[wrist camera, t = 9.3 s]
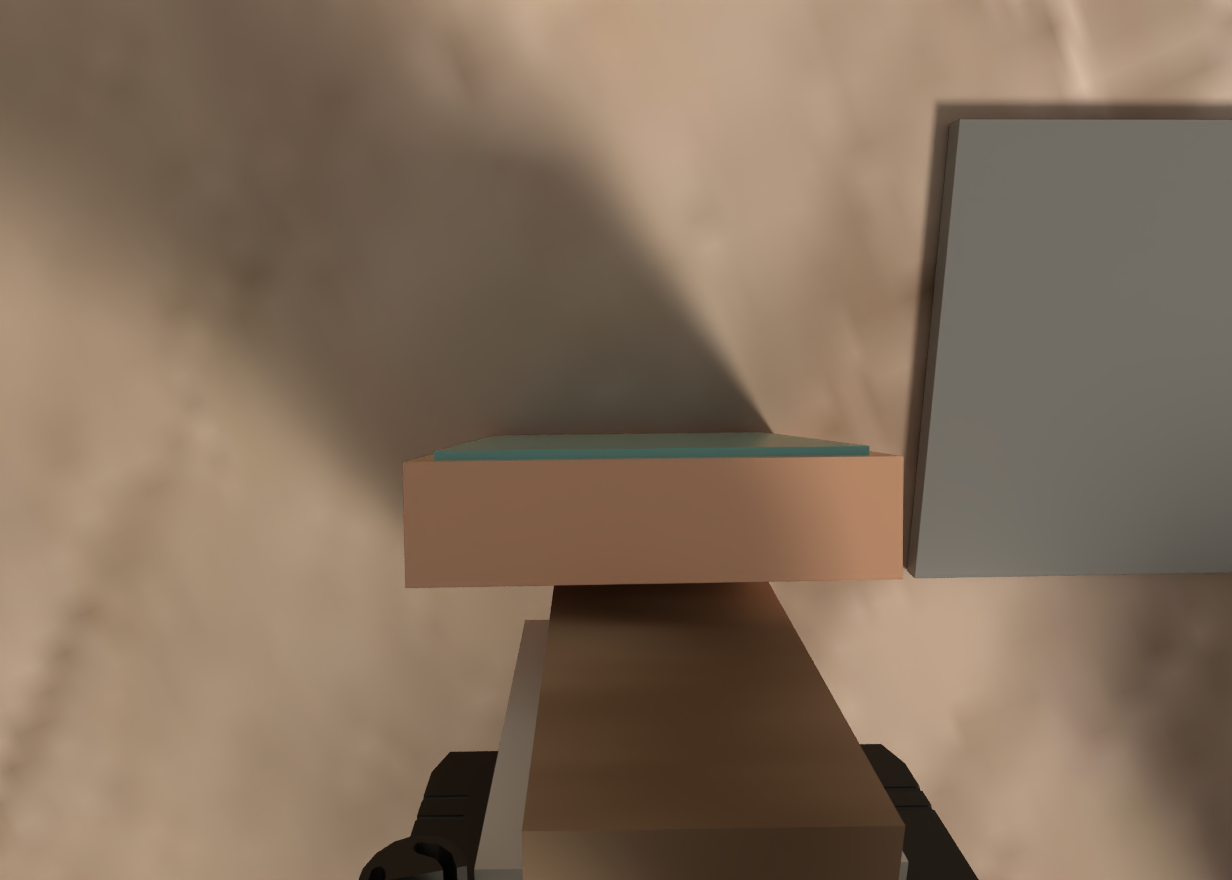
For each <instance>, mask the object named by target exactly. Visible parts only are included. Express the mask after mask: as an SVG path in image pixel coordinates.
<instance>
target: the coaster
mask: <svg viewBox="0 0 1232 880" xmlns="http://www.w3.org/2000/svg"><path fill="white" fill-rule="evenodd" d="M907 571H908V572H909V573H910V574H911V575H912V576H913V577H914V578H957V577H1013V576H1070V575H1126V574H1182V573H1232V120H1076V119H959V120H957V121H955V122H952V123H950V127H949V138H948V148H947V159H946V169H945V180H944V190H943V201H942V211H941V222H940V232H939V243H938V253H937V264H936V274H935V285H934V295H933V306H932V316H931V327H930V337H929V348H928V358H927V368H926V379H925V389H924V400H923V410H922V421H921V431H920V442H919V452H918V463H917V473H916V484H915V494H914V505H913V515H912V526H911V536H910V547H909V557H908V568H907Z"/></svg>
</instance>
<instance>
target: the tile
mask: <svg viewBox="0 0 1232 880" xmlns="http://www.w3.org/2000/svg"><path fill="white" fill-rule="evenodd" d="M402 463H403V505H404V548H405V588H436V587H492V586H548V585H605V584H661V583H718V582H774V581H830V580H887V579H903V456H899V455H892V454H885V453H878V452H872V451H869V446H866V445H858V444H850V443H843V442H835V441H827V440H820V439H812V438H804V437H797V436H789V435H781V434H774V433H766V432H748V433H659V434H571V435H495V436H491V437H487V438H483V439H479V440H475V441H472V442H468V443H464V444H460V445H456V446H452V447H448V448H444V449H440V450H436V451H434V454H432V455H428V456H424V457H421V458H417V459H413V460H410V461H406V462H402Z"/></svg>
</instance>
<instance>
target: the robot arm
mask: <svg viewBox="0 0 1232 880" xmlns="http://www.w3.org/2000/svg"><path fill="white" fill-rule="evenodd" d="M548 628H549V620H525V624H524V629H523V634H522V639H521V644H520V649H519V653H518V658H517V663H516V668H515V673H514V678H513V683H512V688H511V693H510V697H509V702H508V707H507V712H506V717H505V722H504V727H503V732H502V736H501V741H500V746H499V751H476V752H450V753H449V754H448V755H447V756H446V757H445V758H444V759H443V760H442V761H441V763H440V764H439V765H438V766H437V767H436V768H435V769H434V770H433V771H432V773H431V776H430V779H429V782H428V785H427V788H426V791H425V794H424V800H423V801H422V803H421V806H420V809H419V812H418V815H417V821H415V824H414V827H413V830H412V833H411V836H410V837H408V838H405V839H402V840H399V841H395V842H393V843H392V844H390V845H389V846H387V847H385V848H384V849H382V850H381V851H379V852H378V853H376V854H375V855H374V857H373V858H372V859H371V860H370V861H369V862H368V863H367V864H366V866H365V867H364V868H363V870H362V872H361V875H360V878H359V880H523V861H522V826H523V818H524V810H525V803H526V795H527V788H528V780H529V772H530V765H531V757H532V750H533V742H534V734H535V727H536V719H537V712H538V704H539V696H540V689H541V681H542V674H543V666H544V658H545V651H546V643H547V636H548ZM860 746H861V748H862V750H863V751H864V753H865V755H866V757H867V758H868V760H869V762H870V764H871V766H872V767H873V769H874V771H875V773H876V774H877V776H878V778H879V780H880V782H881V783H882V785H883V787H884V789H885V790H886V792H887V794H888V796H889V798H890V799H891V801H892V803H893V805H894V806H895V808H896V810H897V812H898V814H899V815H900V817H901V819H902V821H903V822H904V824H905V833H904V841H903V849H902V857H901V865H900V873H899V880H978V878H977V877H976V875H975V873H974V872H973V870H972V869H971V867H970V865H969V864H968V862H967V861H966V859H965V858H964V856H963V854H962V853H961V851H960V850H959V848H958V847H957V845H956V843H955V842H954V840H953V839H952V837H951V835H950V834H949V832H948V831H947V829H946V828H945V826H944V824H943V823H942V821H941V820H940V818H939V816H938V815H937V813H936V812H935V810H932V807H931V804H930V802H929V801H928V799H927V798H926V796H925V794H924V793H923V791H920V788H919V785H918V783H917V782H916V780H915V779H914V777H913V775H912V774H911V772H910V771H909V769H908V768H907V766H906V764H905V763H904V762H902V761H901V760H900V759H899V758H898V757H896V756H895V755H894V754H893V753H891V752H890V751H889V750H888V749H886V748H885V747H884V746H883V745H882V744H860Z"/></svg>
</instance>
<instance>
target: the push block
mask: <svg viewBox="0 0 1232 880" xmlns="http://www.w3.org/2000/svg"><path fill="white" fill-rule="evenodd" d="M904 833H905V824H904V822H903V821H902V819H901V817H900V815H899V814H898V812H897V810H896V808H895V806H894V805H893V803H892V801H891V799H890V798H889V796H888V794H887V792H886V790H885V789H884V787H883V785H882V783H881V782H880V780H879V778H878V776H877V774H876V773H875V771H874V769H873V767H872V766H871V764H870V762H869V760H868V758H867V757H866V755H865V753H864V751H863V750H862V748H861V746H860V744H859V742H858V741H857V739H856V737H855V735H854V734H853V732H852V730H851V728H850V726H849V725H848V723H847V721H846V719H845V718H844V716H843V714H842V712H841V710H840V709H839V707H838V705H837V703H836V702H835V700H834V698H833V696H832V694H831V693H830V691H829V689H828V687H827V686H826V684H825V682H824V680H823V678H822V677H821V675H820V673H819V671H818V669H817V668H816V666H815V664H814V662H813V661H812V659H811V657H810V655H809V653H808V652H807V650H806V648H805V646H804V645H803V643H802V641H801V639H800V637H799V636H798V634H797V632H796V630H795V629H794V627H793V625H792V623H791V621H790V620H789V618H788V616H787V614H786V613H785V611H784V609H783V607H782V605H781V604H780V602H779V600H778V598H777V597H776V595H775V593H774V591H773V589H772V588H771V586H770V584H769V582H718V583H661V584H605V585H554V590H553V598H552V605H551V613H550V620H549V628H548V636H547V643H546V651H545V658H544V666H543V674H542V681H541V689H540V696H539V704H538V712H537V719H536V727H535V734H534V742H533V750H532V757H531V765H530V772H529V780H528V788H527V795H526V803H525V810H524V818H523V826H522V861H523V880H899V873H900V865H901V857H902V849H903V841H904Z"/></svg>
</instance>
